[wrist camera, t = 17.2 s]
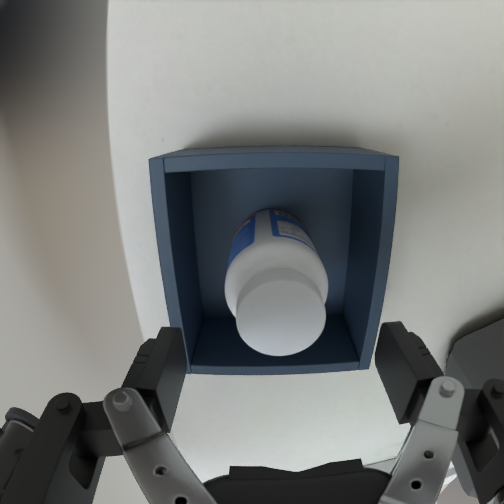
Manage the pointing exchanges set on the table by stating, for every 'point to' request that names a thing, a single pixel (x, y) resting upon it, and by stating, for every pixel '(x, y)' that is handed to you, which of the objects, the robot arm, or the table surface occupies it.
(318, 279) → the pill bottle
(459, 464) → the alarm clock
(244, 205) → the open box
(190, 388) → the table surface
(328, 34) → the table surface
